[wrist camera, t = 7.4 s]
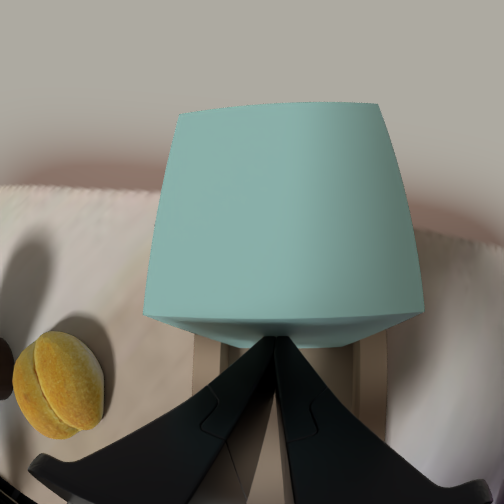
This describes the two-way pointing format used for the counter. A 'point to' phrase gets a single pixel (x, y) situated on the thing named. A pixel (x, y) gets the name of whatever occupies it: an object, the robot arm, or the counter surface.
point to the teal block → (283, 227)
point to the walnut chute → (335, 377)
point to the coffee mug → (6, 370)
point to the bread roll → (59, 385)
